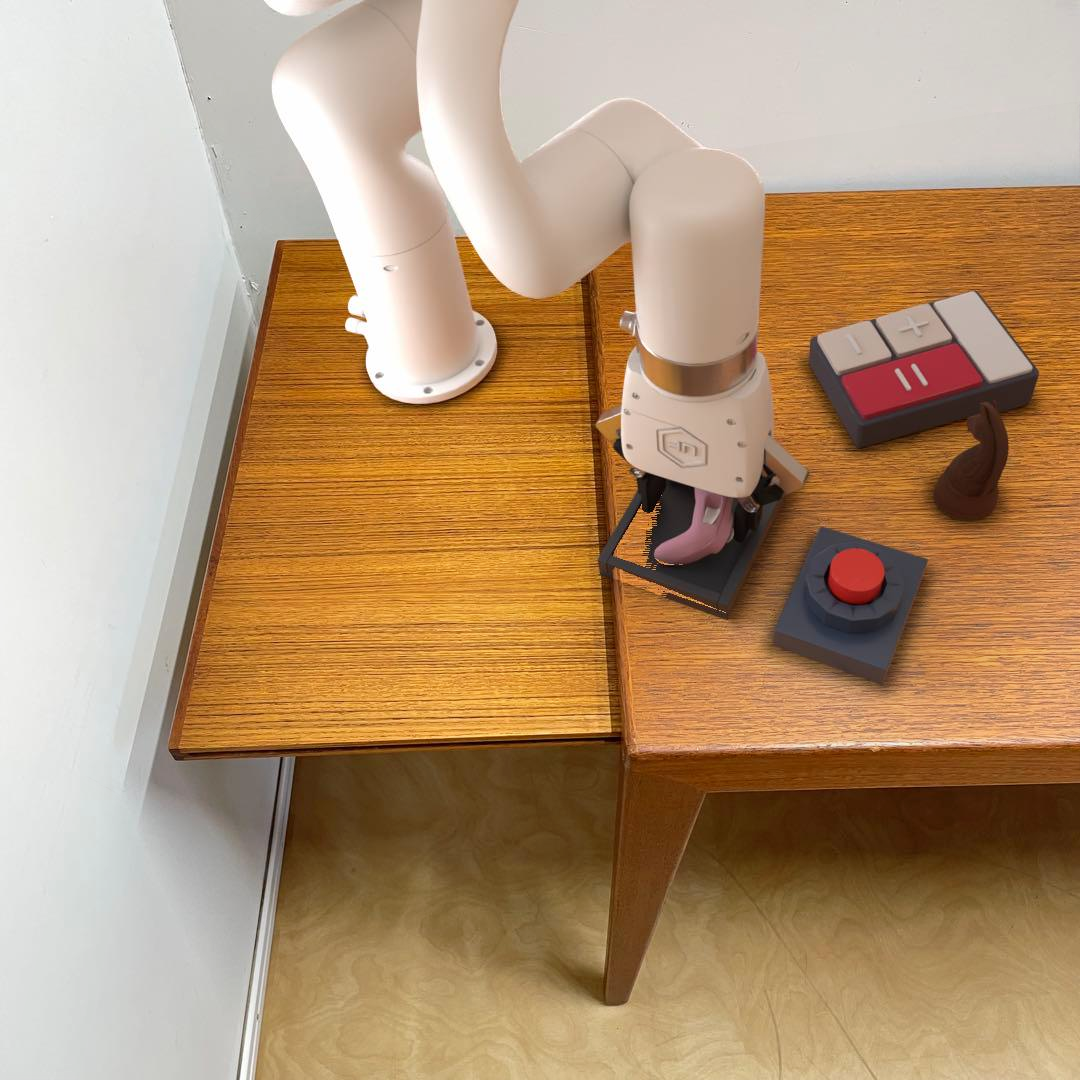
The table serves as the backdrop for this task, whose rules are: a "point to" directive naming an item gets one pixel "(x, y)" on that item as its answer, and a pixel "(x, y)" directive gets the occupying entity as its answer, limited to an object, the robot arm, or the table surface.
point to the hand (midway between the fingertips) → (699, 512)
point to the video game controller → (701, 531)
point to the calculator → (921, 368)
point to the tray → (705, 578)
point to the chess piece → (975, 469)
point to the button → (856, 576)
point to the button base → (849, 609)
